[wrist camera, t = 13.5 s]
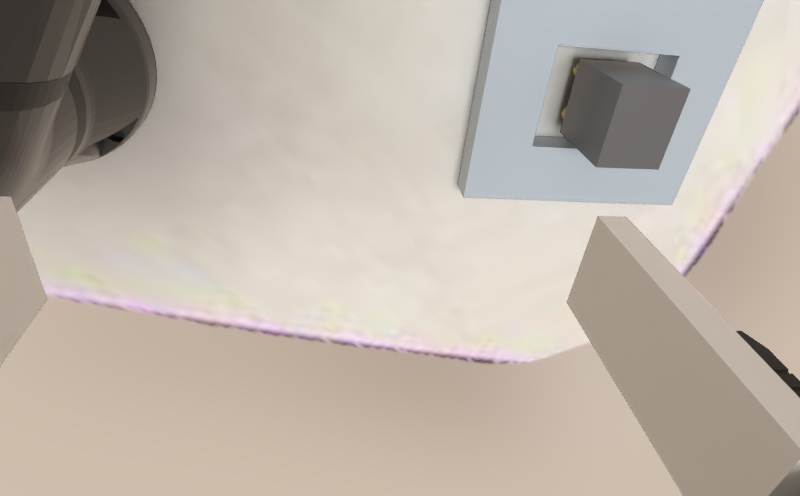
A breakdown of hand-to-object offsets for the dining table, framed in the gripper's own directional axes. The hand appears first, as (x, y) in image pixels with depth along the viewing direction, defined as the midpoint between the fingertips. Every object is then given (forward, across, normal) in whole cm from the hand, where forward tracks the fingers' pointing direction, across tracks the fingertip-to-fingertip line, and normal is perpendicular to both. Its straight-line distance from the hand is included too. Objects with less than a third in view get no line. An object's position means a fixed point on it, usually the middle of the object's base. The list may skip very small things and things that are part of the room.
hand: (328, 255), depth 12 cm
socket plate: (+31, +22, -4) cm, 38 cm away
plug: (+31, +22, -4) cm, 38 cm away
